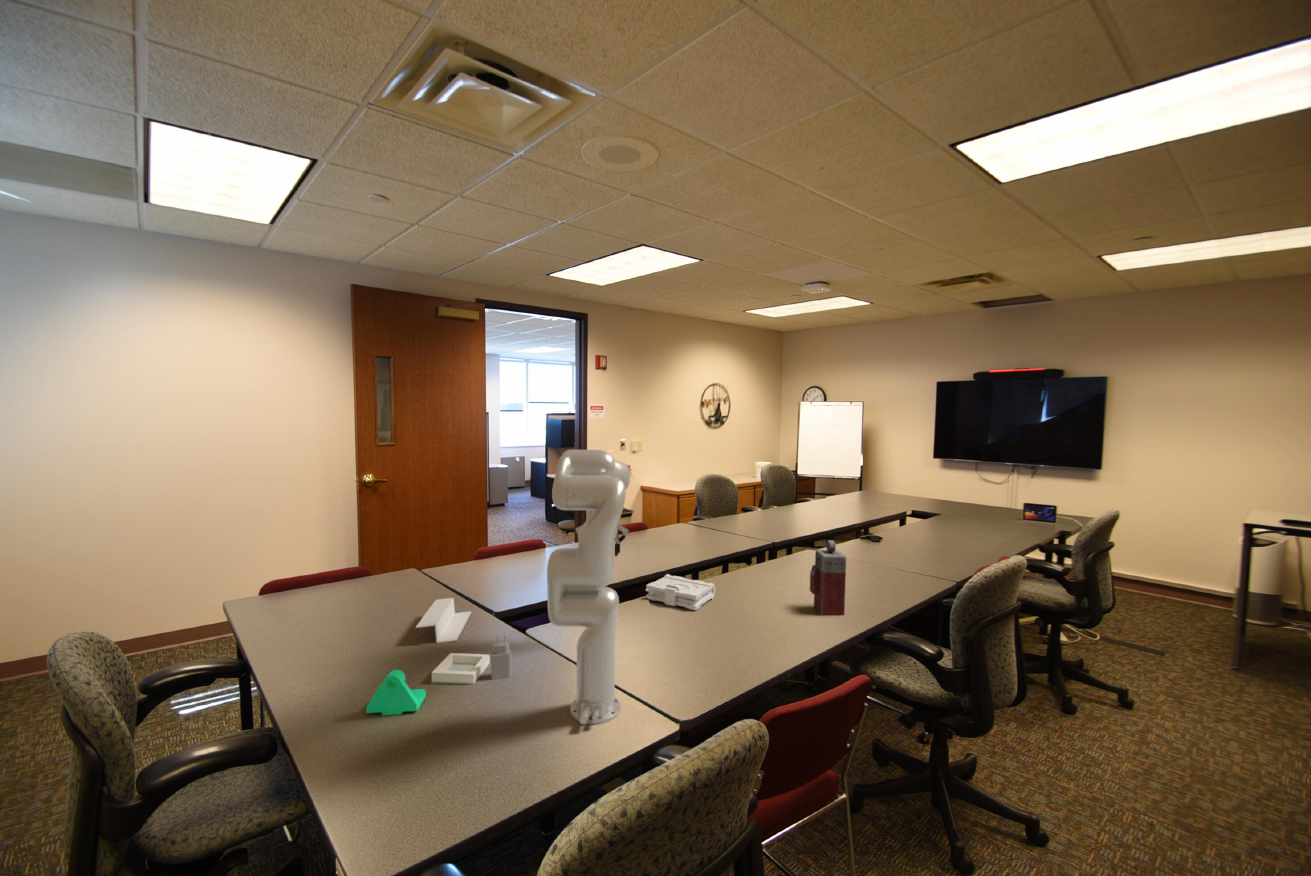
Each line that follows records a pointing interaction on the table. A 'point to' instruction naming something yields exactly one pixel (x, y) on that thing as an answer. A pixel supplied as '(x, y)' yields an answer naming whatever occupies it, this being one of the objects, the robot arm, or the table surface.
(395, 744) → the table surface
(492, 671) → the power adapter
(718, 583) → the table surface
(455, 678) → the tray
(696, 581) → the book
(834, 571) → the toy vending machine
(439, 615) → the z bracket
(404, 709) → the camera mount
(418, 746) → the table surface
